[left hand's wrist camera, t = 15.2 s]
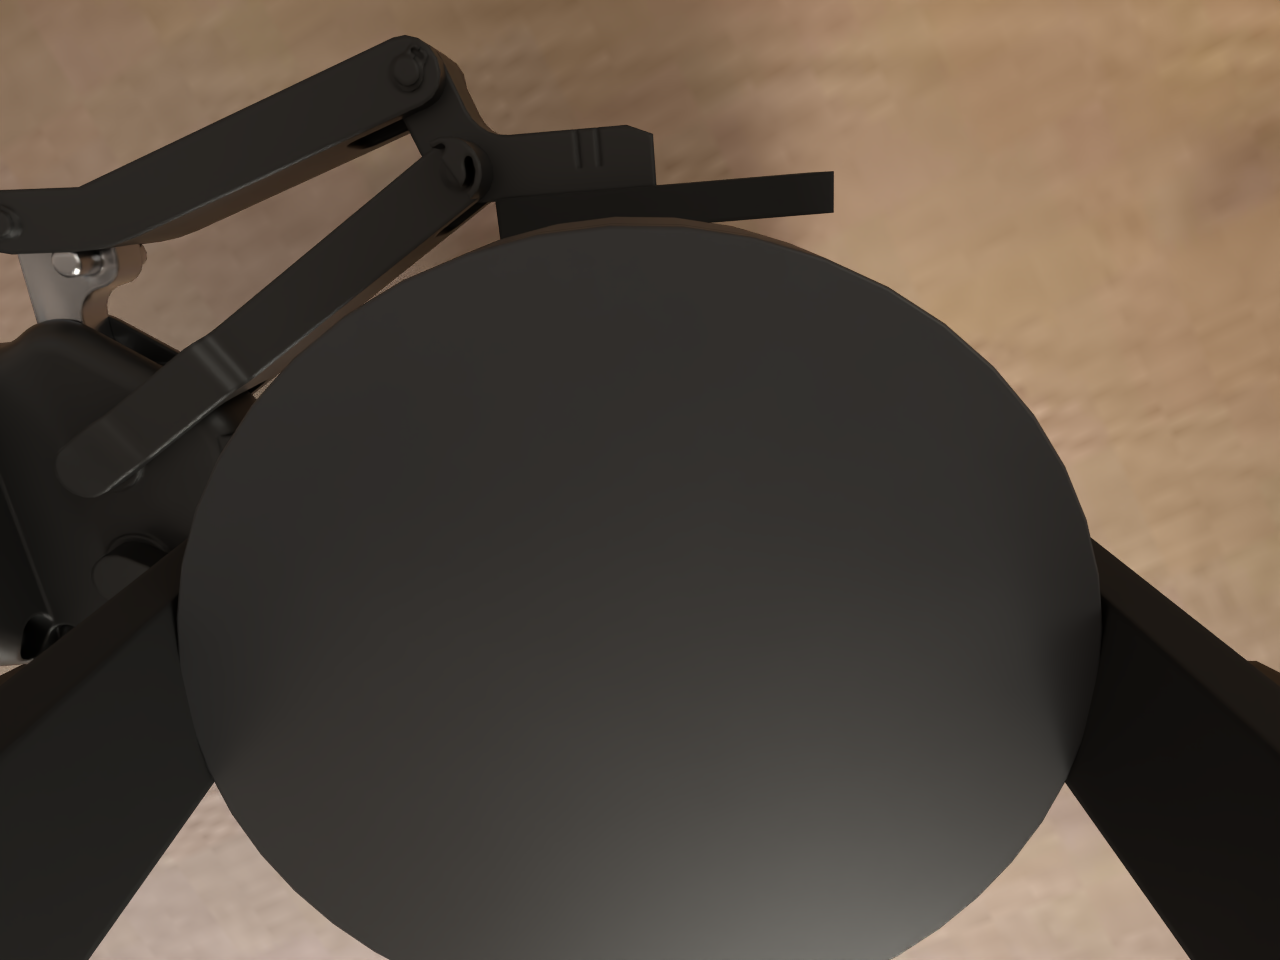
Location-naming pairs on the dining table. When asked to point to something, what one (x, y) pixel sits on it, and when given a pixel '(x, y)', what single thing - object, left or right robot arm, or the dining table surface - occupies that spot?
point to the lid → (639, 608)
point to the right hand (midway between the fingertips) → (820, 444)
